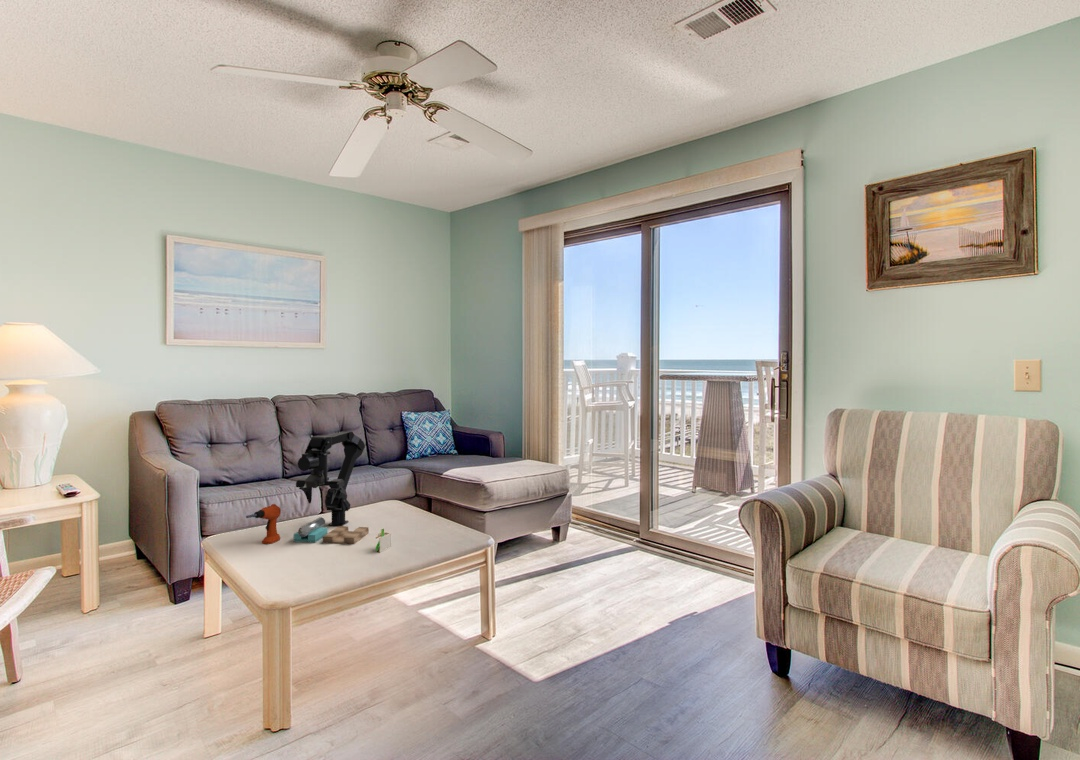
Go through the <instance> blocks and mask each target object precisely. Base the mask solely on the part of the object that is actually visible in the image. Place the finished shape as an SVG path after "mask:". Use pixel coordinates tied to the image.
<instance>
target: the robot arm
mask: <svg viewBox="0 0 1080 760" xmlns="http://www.w3.org/2000/svg"><path fill="white" fill-rule="evenodd" d="M340 443H341V445H342V446H343V453H344V459H343V462H342V465H341V468H340V469H339V473H338V476H337V478H335V479H332V480H330V477H329V476H328V471H330V468H329V467H328V455H331V452H330V451H329V450H330V449H331V448H332V447H333V446H334V445H337V444H340ZM365 448H366V444H365V441H363V439H362V438H361V437H359V436H357V435H356V434H354V432H353V431H351V430H342V431H339V432H335V433H332V434H328V435H325V436H323V435H321V436H320V435H314V436H312V437H311V438H310V439H309V442H308V445H307V447H306V449H305V451H304V453H302V454H301V457H300V458H299V459H298V461H297V467H298V470H300V471H302V472H306V471H310V474H309V476H307V477H302V478H299V479H297V480H296V482H295V488H298V489H299V490H301V491H303V493H304V495H305V497H306V499H307V502H308V504H311V503H312V500H313V499H312V495H313V489H317V488H319V486H326V487H327V486H328V487H329V488H328V489H327V492H326V495H325V499H324V504H325V509H326V511H331V522H329V523H328V524H327V525H328V526H333V527H335V526H336V527H339V526H344V525H346V524H348V523H349V520H346V512H349V510H350V508H351V503H350V502H349V501H348V500H347V498H348V494H347V488H348V484H349V481H350V478H351V476H352V473H353V469H354V467H355V463H356V460H357V459H359V458H360V457H361V456H362V454H363V453H364V451H365Z"/></svg>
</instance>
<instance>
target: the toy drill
mask: <svg viewBox="0 0 1080 760" xmlns="http://www.w3.org/2000/svg"><path fill="white" fill-rule="evenodd" d="M281 511H282V509H281V507H280V506H279V505H277V504H276V503H273V504H271V505H268V506H264V507H263V508H261V509H259V510H257V511H255V512H254V513H252V514H247V515H246V516H245V518H246V519H249V518H255V519H263V520H267V522H266V526H265V530H266V535H265V537H263V539H262V540H261V544H263V545H272V544H274V543H277V542H278V541H280V540H281V536H280V533H278V530H277V521H278V519H279V517H280V516H281Z"/></svg>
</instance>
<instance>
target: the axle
mask: <svg viewBox="0 0 1080 760" xmlns="http://www.w3.org/2000/svg"><path fill="white" fill-rule="evenodd" d="M325 524H326V520H325V518H324V517H321V516H320V517H317V518H315V519H313V520H311V521H310V522H308V523H306V524H304V525H302V526H301V527H299V528H298V530H297V532H298V534H299V535H300V536H301V537H305V536H307V535H308V534H310V533H312V532H313V531H315V530H317V529H318V528H320V527H324V526H325Z"/></svg>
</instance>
